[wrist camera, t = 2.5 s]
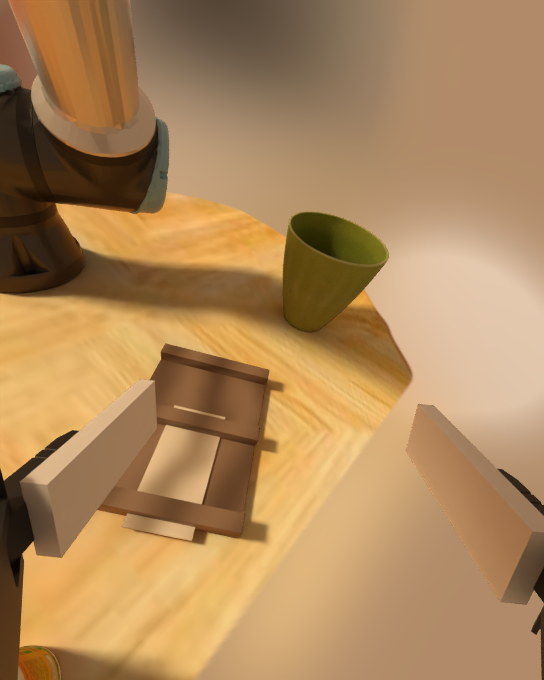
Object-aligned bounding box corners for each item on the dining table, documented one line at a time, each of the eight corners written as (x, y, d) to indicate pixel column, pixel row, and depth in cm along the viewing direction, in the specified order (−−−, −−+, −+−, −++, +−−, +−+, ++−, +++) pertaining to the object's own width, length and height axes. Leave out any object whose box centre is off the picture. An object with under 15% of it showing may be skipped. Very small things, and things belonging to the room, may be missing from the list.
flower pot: (356, 347, 49) (409, 268, 38) (277, 351, 43) (311, 260, 32) (324, 293, 58) (359, 218, 47) (255, 291, 53) (276, 205, 42)
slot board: (76, 519, 24) (68, 513, 22) (166, 354, 38) (165, 343, 36) (235, 551, 25) (239, 547, 23) (265, 379, 39) (269, 369, 37)
